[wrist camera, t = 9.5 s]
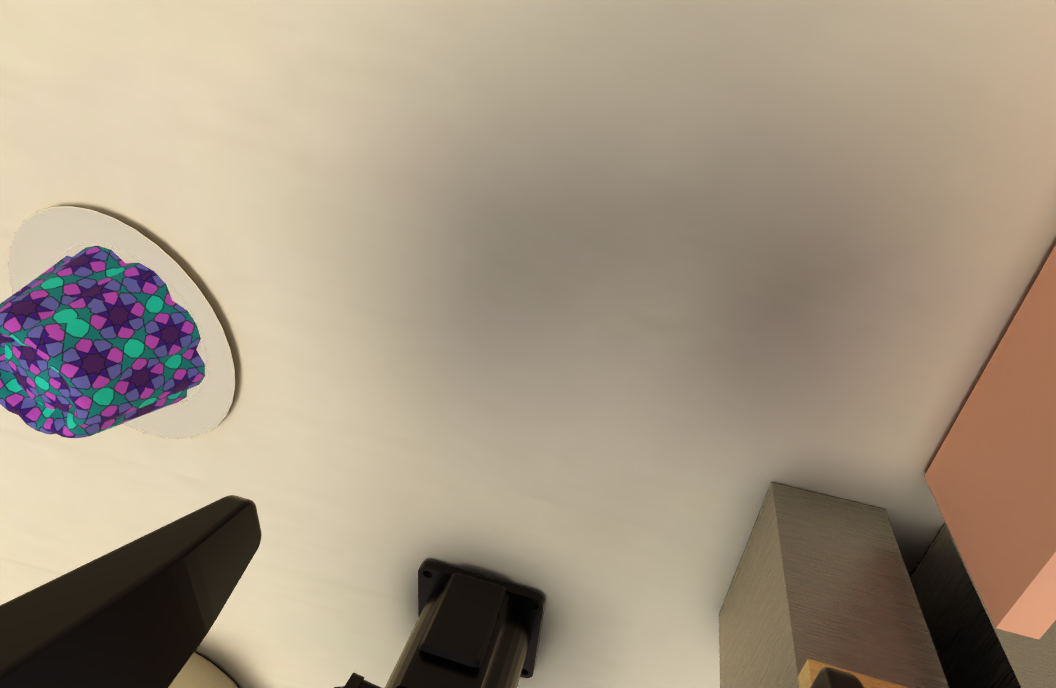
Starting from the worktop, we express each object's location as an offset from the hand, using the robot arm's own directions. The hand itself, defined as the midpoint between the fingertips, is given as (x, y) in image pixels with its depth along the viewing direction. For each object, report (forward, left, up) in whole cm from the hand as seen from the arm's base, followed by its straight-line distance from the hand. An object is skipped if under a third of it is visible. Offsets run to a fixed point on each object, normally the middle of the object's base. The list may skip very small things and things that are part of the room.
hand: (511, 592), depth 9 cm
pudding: (-7, +22, -14) cm, 27 cm away
